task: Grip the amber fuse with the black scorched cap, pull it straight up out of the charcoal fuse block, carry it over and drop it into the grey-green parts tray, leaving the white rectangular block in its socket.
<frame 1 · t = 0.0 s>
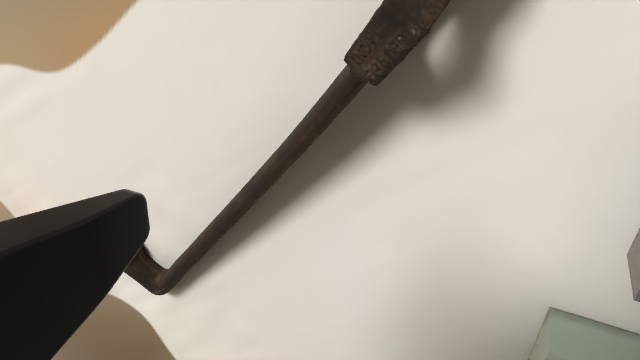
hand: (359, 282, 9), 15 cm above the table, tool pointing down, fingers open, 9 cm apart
wrench: (259, 131, 28), on the table
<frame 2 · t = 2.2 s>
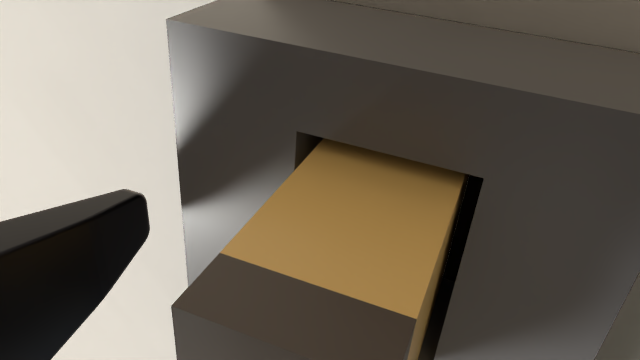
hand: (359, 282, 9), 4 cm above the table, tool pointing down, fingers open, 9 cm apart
blown fuse: (408, 184, 12), resting in fuse block
fuse block: (388, 290, 14), on the table
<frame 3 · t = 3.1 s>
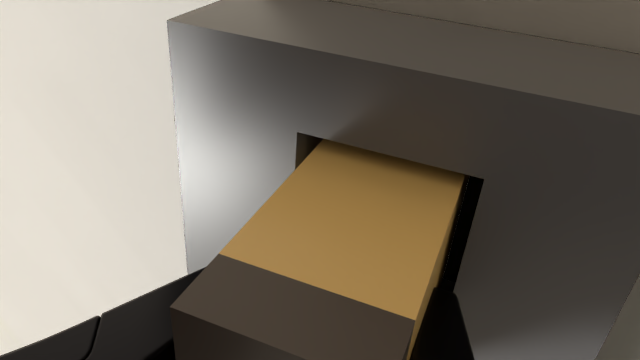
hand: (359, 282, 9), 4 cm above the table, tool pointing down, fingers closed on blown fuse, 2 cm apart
blown fuse: (408, 184, 12), resting in fuse block, touching gripper
fuse block: (388, 291, 14), on the table
when the fingers open (6 cm above the table, at t = 7.8 s): blown fuse drops 2 cm, resting on parts tray.
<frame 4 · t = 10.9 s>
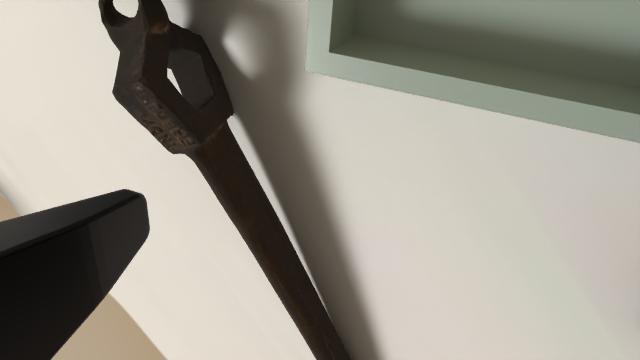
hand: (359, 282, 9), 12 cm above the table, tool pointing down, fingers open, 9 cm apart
wrench: (279, 263, 28), on the table
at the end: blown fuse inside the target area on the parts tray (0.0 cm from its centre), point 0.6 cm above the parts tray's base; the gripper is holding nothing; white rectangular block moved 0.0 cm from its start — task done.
